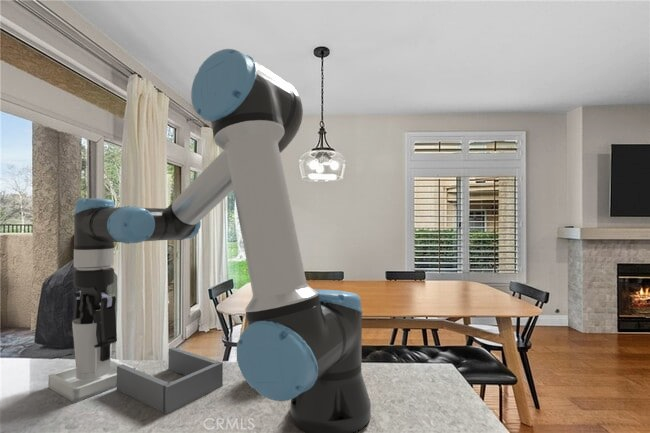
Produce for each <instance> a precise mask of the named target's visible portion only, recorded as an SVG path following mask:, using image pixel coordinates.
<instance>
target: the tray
mask: <svg viewBox="0 0 650 433" xmlns="http://www.w3.org/2000/svg"><path fill="white" fill-rule="evenodd" d="M122 364H123V365H126V366H128V367H131V368H133V369H136V367H134V366H131V365H129V364H126V363H124V362H122V361H120V360H117V359H114V358H112V357H111V361H110V373H108V374H106V375H104V376H101V377H98V378H94V379H88V380H80V379H77V378H76V366H75V367H71V368H68V369H64V370H62V371H57V372H55V373H52V374H48V386H47V387H48V388H49V389H50V390H52V391H54V392H55V393H57V394H59V395H60V396H62V397H64V398H66V399H67V400H68V401H71V402H72V403H74V404H75V403H78V402H80V401H84V400H85V399H88V398H91V397H94V396H96V395H97V396H98V395H99V394H101V393H104V392H106V391H109V390H112V389H115V388H117V366H119V365H122ZM136 370H137V369H136Z"/></svg>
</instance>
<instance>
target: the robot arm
mask: <svg viewBox="0 0 650 433" xmlns="http://www.w3.org/2000/svg"><path fill="white" fill-rule="evenodd" d="M190 97H191V104H192V106H193V109H194V111H195V113H196V114H197V115H198V116H200V117H201V118H202V119H203V120H204V121H208V122H210V124H211V128H212V135H213V138H214V139H213V140H214V143H215V145H216V146H217V147H218V148H221V149H222V151H221V152H220V153H219V155H217V157H215V159H213V161H211V163H209V164H208V166H207V167H205V169H203V171H202V172H201V173H200V174H198V176H197V177H196V178H194V180H193V181H192V182H191V183H190V184H189V185H188V186H187V187H186V188H185V189H184V190H183V191H182V192H181V193H180V194H179V195H178V196H177V197H176V198H175V199H174V200H173V201H172V202H171V203H170V204H169V205H168V206H167V207H165V208H155V207H154V208H153V207H140V206H135V205H134V206H130V205H128V206H120V207H119V206H118V207H116V205H115V201H114V200H112V199H108V198H79V199H77V200H76V201H75V204H74V205H75V207H74V214H73V218H74V219H73V222H74V224H73V225H74V226H73V230H74V231H73V232H74V238H73V241H74V243H73V244H74V249H73V267H74V268H76V269H75V270H74V271H73V286H74V288H79V289H81V290H79V291H74V292H73V298H74V299H73V301H74V302H73V305H74V306H73V318H72V322H73V321H74V320H76V319H79V318H81V324H92V323H93V320H94V323H97V326H96V337H97V343H98V344H97V345H94V347H95V377H100V376H103V375H105V374H108V373H110V344H111V343H112V344H113V343H114V344H115V343H117V340H118V338H117V336H118V335H117V321H116V320H117V319H116V318H117V317H116V300H117V297H116V296H115V295H113V296H109V292H108V286H111V285H113V284H114V283H115V282H114V281H115V268H114V267H112V266H113V265H115V255H116V251H115V243H123V244H128V245H129V244H138V243H142V242H156V241H182V240H187V239H192V238H194V237H196V236H197V235H198V234H199V230H200V229H201V226H202V224H201V221H202V219H204V218H205V217H206V216H207V215H208V214H209V213H210V212H211V211H213V209H215V208H216V207H217V206H218V205H219V204H220V203H221V202H222V201H223V200H224V199H225V198H226V197H227V196H228V195H230V193H232V192H233V195H234V200H235V205H236V211H237V216H238V223H239V228H240V233H241V239H242V244H243V249H244V255H245V261H246V265H247V271H248V275H249V280H250V287H251V292H252V298H251V300H250V301H249V303H248V304H247V306H246V307H245V310H244V311H245V316H246V321H247V327H246V328H245V329H244V330H243V331H242V332H241V334H240V337H239V338H240V339H239V340H237V343H236V360H237V364H238V367H239V370H240V372H241V375H242V377H243V378H244V379H245V381H246V383H247V384H248V385H249V386H250V387H251V389H255V390H256V392H257V393H258V394H259V395H260V396H262V397H263V398H266V399H268V400H270V401H271V400H272V401H276V402H286V401H290V408H289V409H290V413H289V414H290V419H291V421H292V423H293V424H294V425H295V426H296V427H297V428H298V429H300V430H302V431H304V432H306V433H353V432H355V433H357V432H359V431H360V429H361V430H362V429H364V428H365V427H366V426H367V425H368V424H369V422H370V420H371V417H372V412H371V410H372V405H371V400H370V397H369V393H368V389H367V387H366V383H365V380H364V377H363V373H362V347H363V346H362V344H363V343H362V334H363V333H362V332H363V329H362V328H363V325H362V324H363V322H362V321H363V310H362V299H361V296H360V295H359V294H357V293H355V292H350V291H344V290H343V291H342V290H335V289H334V290H333V289H318V288H317V289H314V288H312V287H311V286H310V285H309V284H308V283H307V277H306V274H305V269H304V264H303V259H302V253H301V249H300V244H299V240H298V235H297V228H296V225H295V224H296V223H295V221H294V216H293V210H292V207H291V206H292V205H291V200H290V197H289V196H290V195H289V190H288V187H287V183H286V181H287V180H286V177H285V172H284V168H283V161H282V157H281V153H283V151H284V150H285V149H286V148H288V146H289V145H290V144H291V142H292V141H293V140H294V138H296V136H297V134H298V132H299V130H300V127H301V125H302V121H303V115H304V112H303V105H302V104H303V103H302V99H301V97H300V95H299V92H298V91H297V90H296V89H295V86H293V85H292V84H291V83H290V82H288V81H287V80H285V79H283V77H280V76H278V75H277V74H275V73H274V72H273V71H271V70H269V69H268V68H267V67H265V66H264V65H262V64H261V63H260V62H258V61H256V60H255V59H254V58H253V57H251V56H250V55H249V54H245V53H243V52H240V51H239V50H236V49H233V48H224V49H220V50H217V51H215V52H214V53H212V54H211V55H209V56H208V57H207V58H206V59H205V60H204V61H203V62H202V64H200V67H199V69H198V71H197V72H196V74H195V76H194V79H193V81H192V84H191V92H190ZM71 331H72V334H73V327H72V330H71ZM368 421H369V422H368ZM367 423H368V424H367ZM366 424H367V425H366ZM365 425H366V426H365ZM364 426H365V427H364ZM363 427H364V428H363ZM358 430H359V431H358ZM356 431H357V432H356Z"/></svg>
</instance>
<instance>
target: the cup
mask: <svg viewBox="0 0 650 433" xmlns="http://www.w3.org/2000/svg"><path fill="white" fill-rule="evenodd" d="M71 324H72V325H71V326H72V328H73V333H72V337H73V350H74V360H75V367H76V378H77V379H80V380H88V379H94V378H98V377H95V347H94V345H97V344H98V343H97V337H96V326H97V323H94V320H93V323H92V324H81V318H79V319H76V320H74V321H73V320H72V321H71ZM112 349H113V343H111V344H110V361H111V358H112ZM105 375H106V374H105ZM103 376H104V375H103ZM100 377H101V376H100Z"/></svg>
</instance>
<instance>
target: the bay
mask: <svg viewBox="0 0 650 433" xmlns="http://www.w3.org/2000/svg"><path fill="white" fill-rule="evenodd" d="M167 363H168V364H167V365H168V370H170V371H172V372H175V373H177V374H180V375H183V376H182V377H180V378H178V379H176V380H174V381H171V382H167V381H165V380H163V379H160V378H158V377H155V376H153V375H150V374H147V373H145V372H143V371H141V370H139V369H133V368H131V367H128V366H126V365H123V364H122V365H119V366H117V387H116V390H117V391H119V392H121V393H123V394H126V396H129V397H131V398H134V399H135V400H137V401H140V402H141V403H143V404H146V405H148V406H149V407H151V408H154V409H156V410H158V411H160V412H162V413H163V414H166V415H168V414H170V413H172V412H174V411H176V410H177V409H179V408H181V407H183V406H185V405H188V404H189V403H191V402H193V401H195V400H197V399H199V398H201V397H203V396H205V395H208V394H209V393H212V392H213V391H215V390H217V389H219V388H220V387H223V382H224V380H223V375H224V372H223V370H224V368H223V367H224V365H223V364H224V362H221V361H218V360H215V359H212V358H209V357H206V356H203V355H199V354H196V353H193V352H190V351H187V350H184V349H180V348H177V347H174V346H172V347H169V348H168V362H167Z"/></svg>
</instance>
